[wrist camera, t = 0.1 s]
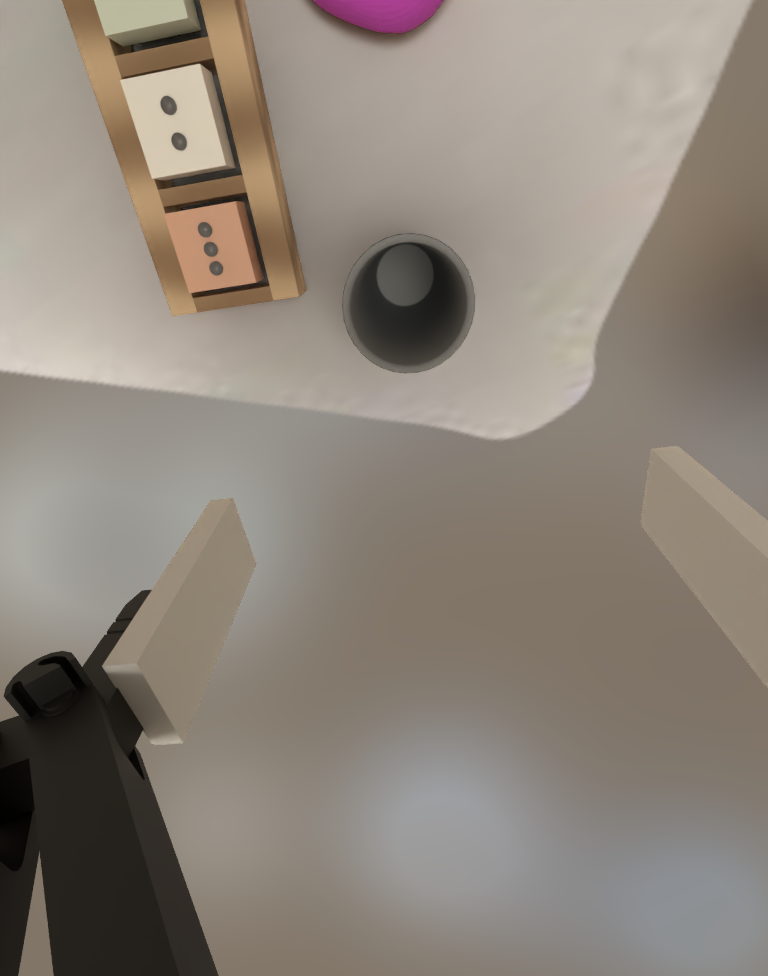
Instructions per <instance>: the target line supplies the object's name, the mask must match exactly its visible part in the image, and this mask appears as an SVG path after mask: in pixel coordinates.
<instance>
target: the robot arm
mask: <svg viewBox="0 0 768 976" xmlns="http://www.w3.org/2000/svg"><path fill="white" fill-rule="evenodd" d="M641 526H642V527H643V528H644V530H645V531H646V532H647V533H648V535H649V536H650V537H651V539H652V540H653V541H654V543H655V544H656V545H657V546H658V548H659V549H660V550H661V552H662V553H663V554H664V555H665V557H666V558H667V559H668V561H669V562H670V563H671V564H672V566H673V567H674V568H675V570H676V571H677V572H678V573H679V575H680V576H681V577H682V579H683V580H684V581H685V582H686V584H687V585H688V586H689V588H690V589H691V590H692V591H693V593H694V594H695V595H696V597H697V598H698V599H699V601H700V602H701V603H702V604H703V606H704V607H705V608H706V609H707V611H708V612H709V613H710V615H711V616H712V617H713V618H714V620H715V621H716V622H717V624H718V625H719V626H720V628H721V629H722V630H723V631H724V633H725V634H726V635H727V636H728V638H729V639H730V640H731V642H732V643H733V644H734V646H735V647H736V648H737V649H738V650H739V652H740V653H741V655H742V656H743V657H744V659H745V660H746V661H747V662H748V664H749V665H750V666H751V667H752V669H753V670H754V671H755V673H756V674H757V675H758V677H760V679H761V680H762V682H763V683H764V684H765V685H766V687H767V688H768V521H767V520H766V519H765V518H763V517H762V516H761V515H760V514H759V513H757V512H756V511H755V510H754V509H753V508H751V507H750V506H749V505H748V504H747V503H745V502H744V501H743V500H742V499H741V498H739V497H738V496H737V495H736V494H735V493H734V492H732V491H731V490H730V489H729V488H728V487H726V486H725V485H724V484H723V483H721V482H720V481H719V480H718V479H717V478H716V477H714V476H713V475H712V474H711V473H709V472H708V471H707V470H706V469H705V468H704V467H702V466H701V465H700V464H699V463H698V462H696V461H695V460H694V459H693V458H692V457H690V456H689V455H688V454H687V453H686V452H684V451H683V450H682V449H681V448H680V447H678V446H672V447H663V448H655V449H651V453H650V459H649V467H648V473H647V481H646V488H645V495H644V502H643V509H642V516H641ZM255 566H256V562H255V559H254V556H253V553H252V550H251V548H250V545H249V542H248V539H247V537H246V533H245V531H244V528H243V525H242V522H241V519H240V517H239V514H238V511H237V508H236V505H235V502H234V500H233V498H228V499H219V500H211V501H210V502H209V504H208V505H207V507H206V508H205V510H204V511H203V513H202V514H201V516H200V517H199V519H198V520H197V522H196V524H195V525H194V527H193V528H192V530H191V531H190V533H189V534H188V536H187V537H186V539H185V540H184V542H183V544H182V545H181V546H180V548H179V549H178V551H177V552H176V554H175V556H174V557H173V559H172V560H171V562H170V563H169V565H168V566H167V568H166V569H165V571H164V572H163V574H162V575H161V577H160V579H159V580H158V581H157V583H156V584H155V586H154V588H153V589H152V590H144V591H141V592H140V593H139V594H138V595H136V596H135V597H134V598H133V599H132V600H131V601H129V602H128V603H127V604H126V605H125V607H124V608H123V609H122V611H121V612H120V614H119V615H118V617H117V618H116V622H113V624H112V625H111V627H110V628H109V629H108V631H107V635H104V637H103V638H102V640H101V641H100V642H99V644H98V645H97V647H96V648H95V650H94V651H93V653H92V654H91V655H90V657H89V658H88V660H87V661H86V662H85V664H84V665H83V667H81V665H80V664H79V662H78V661H77V659H76V658H75V657H74V655H73V654H72V653H70V652H65V651H60V652H54V653H50V654H48V655H45V656H43V657H40V658H38V659H36V660H35V661H33V662H31V663H30V664H28V665H27V666H25V667H24V668H23V669H22V670H21V671H19V672H18V673H17V674H16V675H15V676H14V677H13V678H12V680H11V681H10V682H9V684H8V685H7V687H6V689H5V693H4V697H5V699H6V700H7V701H8V702H9V703H10V705H11V706H12V707H13V708H14V710H15V711H16V712H17V713H18V714H19V716H16V717H13V718H10V719H7V720H5V721H2V722H0V976H18V973H19V967H20V962H21V956H22V950H23V944H24V938H25V932H26V926H27V921H28V915H29V909H30V903H31V897H32V891H33V885H34V879H35V873H36V868H37V862H38V856H39V850H40V859H41V867H42V876H43V885H44V894H45V902H46V911H47V919H48V929H49V938H50V947H51V955H52V964H53V973H54V976H218V973H217V970H216V967H215V964H214V961H213V959H212V956H211V953H210V950H209V947H208V944H207V942H206V939H205V936H204V933H203V930H202V927H201V925H200V922H199V919H198V916H197V913H196V911H195V908H194V905H193V902H192V899H191V896H190V893H189V890H188V888H187V885H186V882H185V879H184V876H183V873H182V871H181V868H180V865H179V862H178V859H177V856H176V854H175V851H174V848H173V845H172V842H171V839H170V837H169V834H168V831H167V828H166V825H165V823H164V820H163V817H162V814H161V811H160V808H159V805H158V802H157V800H156V797H155V794H154V791H153V788H152V786H151V783H150V780H149V777H148V774H147V771H146V768H145V766H144V763H143V760H142V757H141V754H140V753H139V751H138V750H137V748H136V747H135V745H136V743H137V741H138V739H139V737H140V735H141V732H142V731H144V732H145V734H146V735H147V737H148V738H149V740H150V742H151V743H152V745H161V744H176V743H184V740H185V738H186V735H187V733H188V730H189V728H190V725H191V723H192V720H193V718H194V715H195V713H196V711H197V708H198V706H199V703H200V701H201V698H202V696H203V693H204V691H205V688H206V686H207V683H208V681H209V679H210V676H211V674H212V671H213V669H214V666H215V664H216V661H217V659H218V657H219V654H220V652H221V649H222V647H223V644H224V641H225V639H226V637H227V634H228V632H229V630H230V627H231V625H232V622H233V620H234V617H235V615H236V612H237V610H238V607H239V605H240V603H241V600H242V598H243V595H244V593H245V590H246V588H247V585H248V583H249V580H250V578H251V575H252V573H253V571H254V568H255Z"/></svg>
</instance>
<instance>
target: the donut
mask: <svg viewBox="0 0 768 976" xmlns="http://www.w3.org/2000/svg"><path fill="white" fill-rule="evenodd" d="M313 1H314V3H316V4H317V5H318V6H319V7H321V8H322V9H323V10H325V11H327V12H328V13H330V14H332V15H334V16H336V17H338V18H340V19H342V20H344V21H347V22H349V23H351V24H354V25H357V26H360V27H363V28H366V29H369V30H373V31H377V32H383V33H404V32H407V31H410V30H412V29H414V28H416V27H418V26H419V25H420V24H422V23H423V22H424V21H426V20H427V19H428V18H430V17H431V16H433V14H434V13H435V11H436V10H437V9H438V7H439V6H440V5H441V4H442V2H443V0H313Z"/></svg>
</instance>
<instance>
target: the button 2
mask: <svg viewBox="0 0 768 976" xmlns="http://www.w3.org/2000/svg"><path fill="white" fill-rule="evenodd" d="M120 82H121V85H122V88H123V91H124V94H125V97H126V100H127V103H128V107H129V110H130V113H131V116H132V119H133V122H134V125H135V128H136V131H137V134H138V137H139V140H140V143H141V146H142V150H143V153H144V156H145V159H146V162H147V165H148V168H149V171H150V174H151V177H152V179H157V180H164V181H167V180H172V179H178V178H183V177H189V176H194V175H200V174H205V173H210V172H216V171H221V170H227V169H232V168H236V167H235V163H234V159H233V155H232V151H231V147H230V143H229V139H228V135H227V131H226V127H225V123H224V119H223V115H222V111H221V107H220V103H219V99H218V95H217V91H216V87H215V83H214V79H213V75H212V72H210V71H209V70H208V69H206V68H205V67H204V66H202V65H201V64H196V65H191V66H186V67H181V68H176V69H172V70H167V71H162V72H157V73H152V74H147V75H143V76H138V77H133V78H128V79H123V80H120Z"/></svg>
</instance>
